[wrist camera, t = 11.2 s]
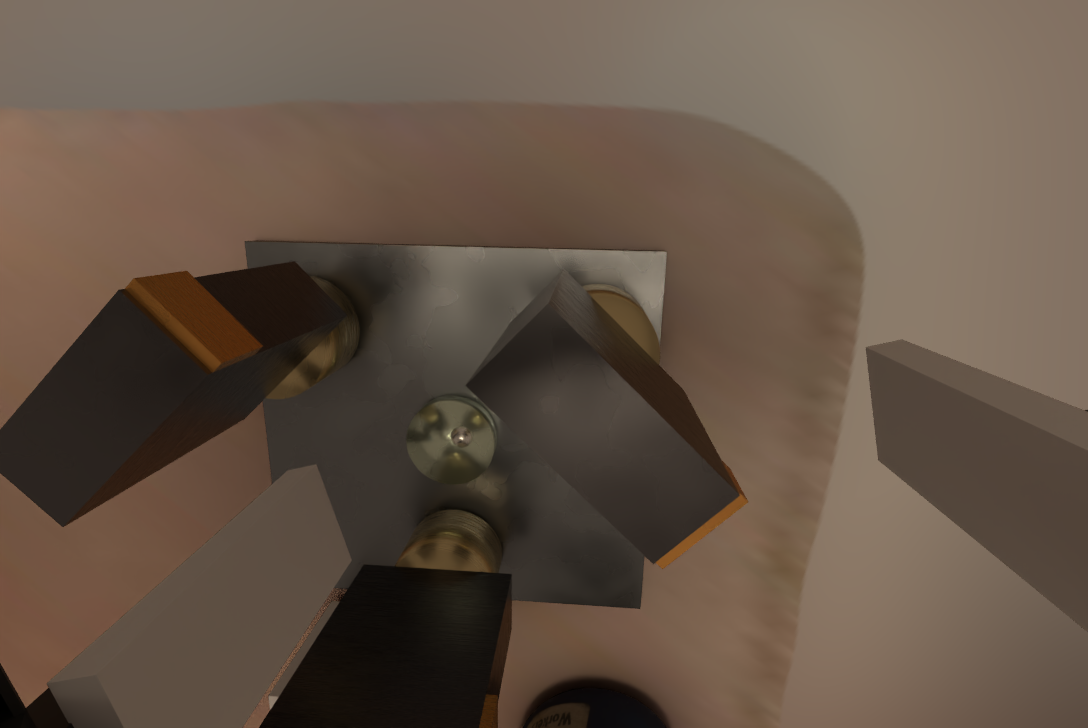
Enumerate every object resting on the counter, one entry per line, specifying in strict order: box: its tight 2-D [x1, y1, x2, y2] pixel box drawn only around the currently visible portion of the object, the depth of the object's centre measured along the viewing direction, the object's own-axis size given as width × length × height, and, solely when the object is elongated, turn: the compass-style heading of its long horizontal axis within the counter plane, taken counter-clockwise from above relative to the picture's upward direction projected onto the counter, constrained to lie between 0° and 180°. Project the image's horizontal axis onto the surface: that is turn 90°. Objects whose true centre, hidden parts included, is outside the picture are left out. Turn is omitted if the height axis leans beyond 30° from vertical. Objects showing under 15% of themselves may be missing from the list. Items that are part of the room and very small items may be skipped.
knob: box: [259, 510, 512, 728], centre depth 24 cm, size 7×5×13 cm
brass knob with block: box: [465, 269, 748, 569], centre depth 21 cm, size 7×5×13 cm
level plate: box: [245, 241, 667, 609], centre depth 29 cm, size 20×19×2 cm
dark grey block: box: [0, 261, 359, 527], centre depth 22 cm, size 7×5×13 cm
